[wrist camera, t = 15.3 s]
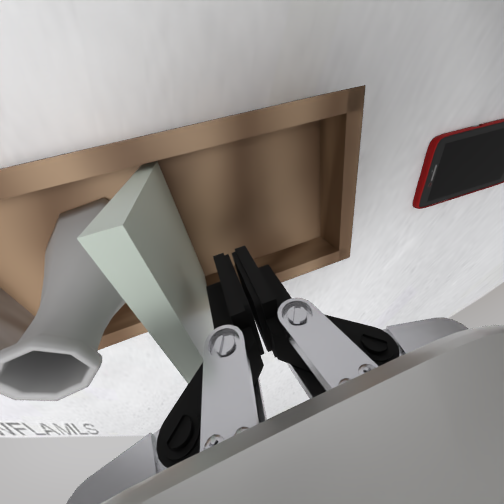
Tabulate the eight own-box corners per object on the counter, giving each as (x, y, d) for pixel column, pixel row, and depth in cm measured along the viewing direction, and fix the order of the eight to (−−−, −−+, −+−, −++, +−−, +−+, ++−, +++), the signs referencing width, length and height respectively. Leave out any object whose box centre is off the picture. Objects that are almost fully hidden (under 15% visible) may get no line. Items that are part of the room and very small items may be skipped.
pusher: (157, 161, 14) (122, 225, 5) (204, 275, 19) (229, 403, 10) (141, 164, 14) (76, 238, 5) (194, 279, 19) (209, 411, 10)
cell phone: (498, 180, 28) (508, 181, 27) (407, 208, 25) (415, 211, 24) (533, 110, 23) (545, 109, 23) (427, 136, 21) (437, 137, 20)
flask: (120, 298, 18) (75, 440, 10) (23, 246, 14) (-189, 414, 6) (183, 247, 18) (190, 353, 9) (101, 176, 13) (-16, 255, 5)
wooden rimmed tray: (326, 93, 16) (378, 82, 12) (325, 238, 23) (357, 262, 19) (-116, 195, 12) (-273, 233, 8) (51, 333, 19) (16, 390, 15)
